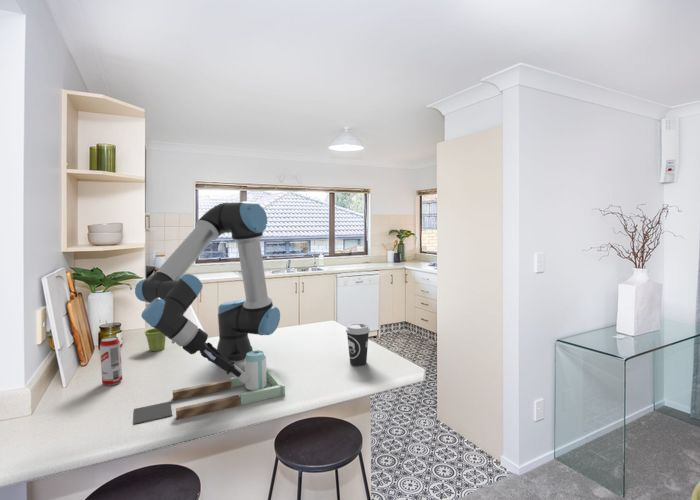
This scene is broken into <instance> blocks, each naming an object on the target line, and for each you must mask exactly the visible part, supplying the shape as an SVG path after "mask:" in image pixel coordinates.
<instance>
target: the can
mask: <svg viewBox="0 0 700 500" xmlns="http://www.w3.org/2000/svg"><path fill="white" fill-rule="evenodd" d="M243 360H244V372H245V373H246V374H248V375H249V376H250V377H249V379H248V380H247V381H246V382H245V385H244V387H245V389H247V390H249V391H254V390H259V389H264V388H266V387H267V383H268V382H267V381H268V380H267V379H266V371H267V356H266V355H265V352H264V351H262V350H253V351H250V352H248V353H247V354H246V357H245V359H243Z"/></svg>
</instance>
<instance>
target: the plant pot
mask: <svg viewBox="0 0 700 500" xmlns="http://www.w3.org/2000/svg"><path fill="white" fill-rule="evenodd" d="M143 334H145V337H146V340H147V344H148V350H149V351H150V352H159V351H162V350H164V349H165V348H166V347H165V346H166V337H167V336H165V335H164V334H162V333H161V332H159V331H158V330H156V329H155V328H154V327H153V328H149V329H147V330H146V329H145V331H144V332H143Z"/></svg>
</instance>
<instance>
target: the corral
mask: <svg viewBox="0 0 700 500" xmlns="http://www.w3.org/2000/svg"><path fill="white" fill-rule="evenodd" d="M229 379H230V381H231V389H232V388H237V387H243V386H245V383H243V382H241V381H240V380H238V379H237V378H236V377H234V376H232V377H231V376H230V377H229ZM266 379H267V381H268V382H269V384H271V386H268V387H264V388H263V389H259V390H254V391H251V390H249V391H247V392H246V391H245V392H242V393H239V394H238V395H239V397H240V406H243V405H247V404H251V403H255V402H260V401H264V400H268V399H269V400H270V399H273V398H276V397H281V396H286V386H285V384H284V383H283V382H282V381H281V380H280V379H279V378H278V376H277V375H276V374H275V373H274V372H273V371H272V369H268V370H267V369H266Z"/></svg>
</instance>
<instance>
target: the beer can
mask: <svg viewBox="0 0 700 500" xmlns="http://www.w3.org/2000/svg"><path fill="white" fill-rule="evenodd" d="M100 341H101V342H100V344H99V356H100V367H101V368H100V371H101V373H100V374H101V382H102V383H101V384H103V385H104V386H108V387H110V386H115V385H117V384H120V383H121V381H123V366H122V364H123V363H122V352H121V351H122V349H121V348H122V347H121V340H119V337H118V336H109V337H105V338H104V337H103V338H102V339H101V340H100Z"/></svg>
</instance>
